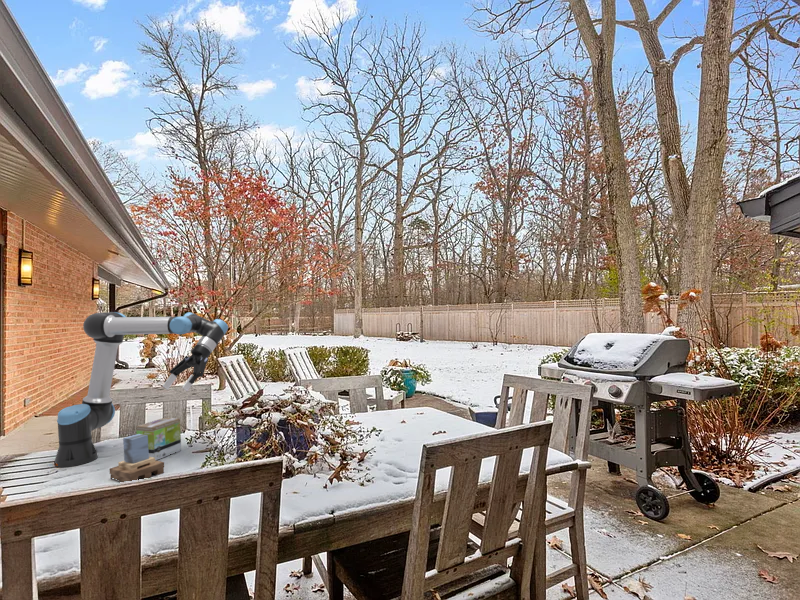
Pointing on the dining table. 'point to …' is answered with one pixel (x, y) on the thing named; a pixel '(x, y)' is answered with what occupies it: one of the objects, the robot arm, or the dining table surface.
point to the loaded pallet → (135, 452)
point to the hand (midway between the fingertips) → (174, 388)
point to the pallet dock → (137, 472)
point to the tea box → (162, 436)
